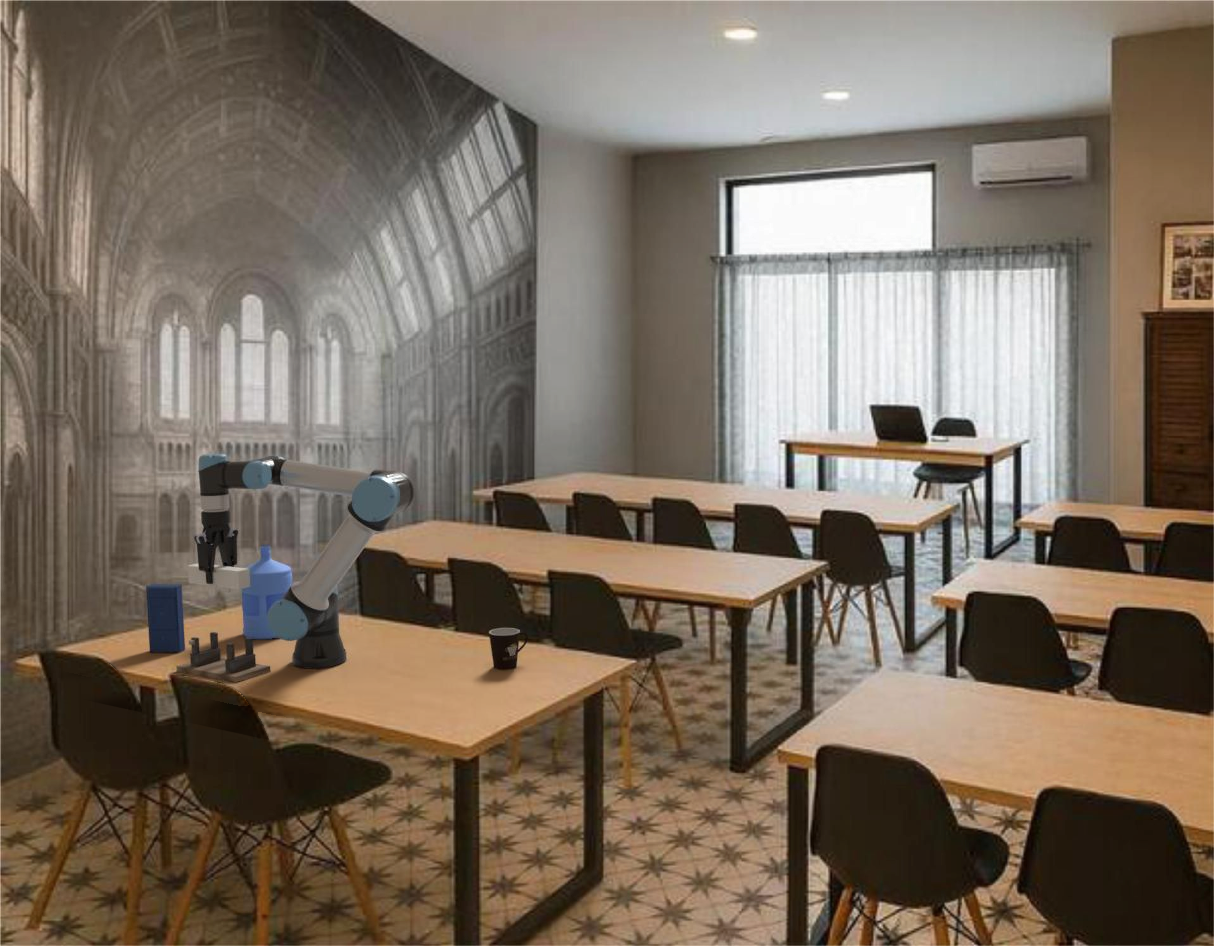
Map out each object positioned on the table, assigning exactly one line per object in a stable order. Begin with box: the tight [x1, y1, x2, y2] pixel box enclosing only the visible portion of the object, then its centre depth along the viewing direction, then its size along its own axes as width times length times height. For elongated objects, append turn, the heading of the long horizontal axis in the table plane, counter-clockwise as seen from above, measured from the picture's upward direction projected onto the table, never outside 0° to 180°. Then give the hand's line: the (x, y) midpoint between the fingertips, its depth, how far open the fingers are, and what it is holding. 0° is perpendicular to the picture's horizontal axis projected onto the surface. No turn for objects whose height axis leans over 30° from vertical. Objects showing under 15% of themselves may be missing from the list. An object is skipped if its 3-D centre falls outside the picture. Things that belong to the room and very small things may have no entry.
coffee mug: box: [488, 627, 529, 671], centre depth 318 cm, size 12×9×10 cm
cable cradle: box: [176, 631, 271, 683], centre depth 317 cm, size 24×12×10 cm, turn 60°
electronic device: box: [145, 583, 186, 653], centre depth 340 cm, size 10×5×20 cm, turn 84°
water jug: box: [241, 545, 293, 640], centre depth 358 cm, size 16×16×28 cm
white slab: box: [187, 563, 250, 590], centre depth 314 cm, size 20×4×5 cm, turn 60°
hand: (219, 593), depth 315 cm, fingers closed on white slab, 4 cm apart
